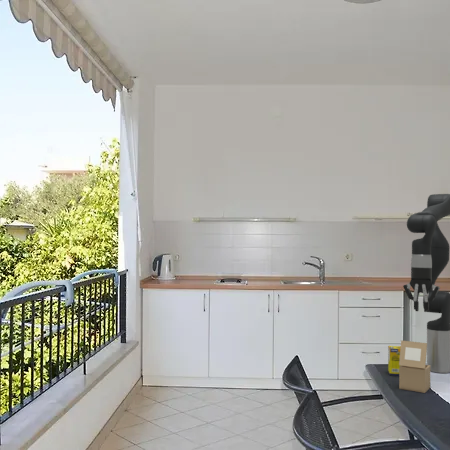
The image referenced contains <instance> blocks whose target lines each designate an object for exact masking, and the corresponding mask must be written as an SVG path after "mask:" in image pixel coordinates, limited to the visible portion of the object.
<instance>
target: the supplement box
mask: <svg viewBox="0 0 450 450" xmlns="http://www.w3.org/2000/svg"><path fill="white" fill-rule="evenodd" d="M387 347H388V348H387V349H388V351H387V352H388V353H387V355H388V356H387V357H388V360H387V362H388V363H387V365H388V366H387V372H388V374H389V376H395V377H399V367H400V366H401V365H399V360H400V349H401V345H400V346H399V345H398V346H397V345H388V346H387Z"/></svg>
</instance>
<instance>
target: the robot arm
mask: <svg viewBox="0 0 450 450" xmlns="http://www.w3.org/2000/svg"><path fill="white" fill-rule="evenodd" d="M447 216H450V193H437V194H436V193H435V194H430V195H429V196H428V197H427V202H426V208H424V209H423V210H422V211H419V212H415V213H413V214H411V215H410V216H408V218H407V220H406V227H407V230H408V231H409V232H410V233H414V234H424V235H423V237H421V238H417V239H416V238H415V239H413V240H412V242H411V259H410V281H409V283H407V284H403V285H402V288H403V289H404V291H405V293H406V296H407V297H408V300H412V301H413V310H415V312H419V310H420V308H419V304H420V303H419V295H420V293H422V294H423V296H422V297H423V299H422V306H423V311H424V313H433V314H441V315H440V317H438V318H437V319H433V320H429V321H427V322H426V343H427V353H426V365H430V372H431V373H437V374H439V373H441V374H446V373H447V374H448V373H450V292H449V291H441V290H440V289H441V287H440V286H438V285H437V284H436V281H437V279H438V277H439V276H440V275H441V273H443V271H444V270H445V268H446V267H447V265H448V264H449V262H450V243H449V241H448V240H447V238H446V236H445V235H444V233H443V232H442V229H440V227H439V224H438V221H440V220H441V219H444V218H445V217H447ZM435 284H436V285H435ZM411 288H412V289H413V291H414V292H413V294H412V291H411Z"/></svg>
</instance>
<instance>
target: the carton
mask: <svg viewBox="0 0 450 450" xmlns="http://www.w3.org/2000/svg"><path fill="white" fill-rule="evenodd" d="M398 377H399V378H398V379H399V381H398V384H399V386H398V387H399V388H398V389H399V390H405V391H410V392H417V393H424V394H425V393H427V392H428V390H430V388H431V371H430V365H427V364H426V366H425V369H423V368H416V367H408V366H400V367H399V376H398Z"/></svg>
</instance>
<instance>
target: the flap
mask: <svg viewBox="0 0 450 450" xmlns="http://www.w3.org/2000/svg"><path fill="white" fill-rule="evenodd" d="M400 346H401V349H400V360H399V365H401V366H408V367H416V368H423V369H425V366H426V365H427V342H419V341H418V342H417V341H412V340H411V341H410V340H400Z"/></svg>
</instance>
